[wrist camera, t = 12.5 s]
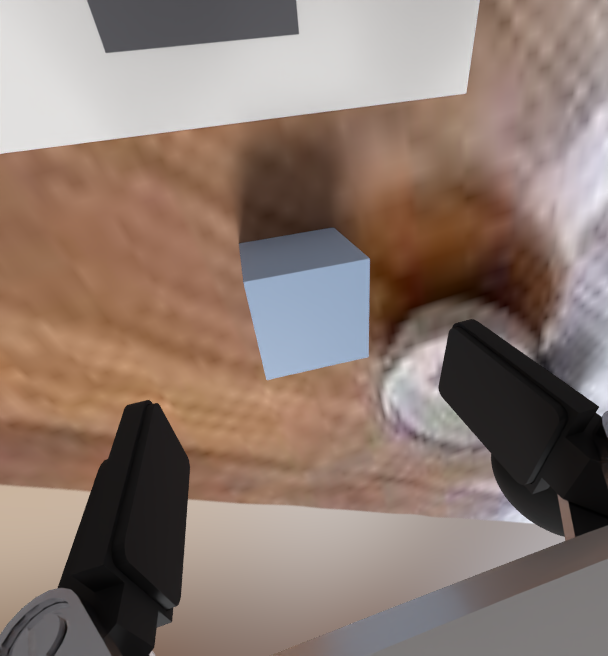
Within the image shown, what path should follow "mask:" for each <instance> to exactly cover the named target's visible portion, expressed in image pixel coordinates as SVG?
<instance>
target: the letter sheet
mask: <svg viewBox="0 0 608 656" xmlns="http://www.w3.org/2000/svg"><path fill="white" fill-rule="evenodd" d="M479 2H480V0H0V154H2V153H10V152H18V151H26V150H33V149H41V148H49V147H57V146H64V145H72V144H80V143H88V142H95V141H103V140H111V139H118V138H126V137H134V136H142V135H149V134H157V133H165V132H173V131H180V130H188V129H196V128H203V127H211V126H219V125H227V124H234V123H242V122H250V121H258V120H265V119H273V118H281V117H289V116H296V115H304V114H312V113H319V112H327V111H335V110H343V109H350V108H358V107H366V106H374V105H381V104H389V103H397V102H405V101H412V100H420V99H428V98H435V97H443V96H451V95H459V94H466V91H467V84H468V77H469V70H470V63H471V57H472V50H473V43H474V36H475V29H476V23H477V16H478V9H479Z"/></svg>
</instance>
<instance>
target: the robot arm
mask: <svg viewBox="0 0 608 656" xmlns="http://www.w3.org/2000/svg"><path fill="white" fill-rule="evenodd" d="M439 392H440V394H441V396H442V397H443V399H444V400H445V401H446V402H447V403H448V404H449V405H450V407H451V408H452V409H453V410H454V411H455V412H456V413H457V415H458V416H459V417H460V418H461V419H462V420H463V421H464V423H465V424H466V425H467V426H468V427H469V428H470V429H471V431H472V432H473V433H474V434H475V435H476V436H477V437H478V439H479V440H480V441H481V442H482V443H483V444H484V445H485V447H486V448H487V449H488V450H489V451H490V452H491V453H492V455H493V456H494V457H495V458H496V459H497V460H498V461H499V463H500V464H501V465H502V466H503V467H504V468H505V469H506V471H507V472H508V473H509V474H510V475H511V476H512V477H513V479H514V480H515V481H516V482H518V483H519V484H521V485H524V486H525V487H526V488H527V489H528V490H529V491H530V492H531V494H534V493H537V492H540V491H543V490H546V489H548V488H549V487H550V486H551V487H552V489H553V490H554V491H555V492H556V493H557V495H558V500H559V506H560V512H561V517H562V523H563V529H564V534H565V540H566V541H564V542H562V543H559V544H556V545H554V546H551V547H549V548H546V549H543V550H541V551H538V552H535V553H533V554H530V555H527V556H525V557H522V558H520V559H517V560H515V561H512V562H509V563H507V564H504V565H501V566H499V567H496V568H493V569H491V570H488V571H486V572H483V573H481V574H478V575H475V576H473V577H471V578H468V579H465V580H463V581H460V582H457V583H455V584H452V585H450V586H447V587H444V588H442V589H439V590H437V591H434V592H432V593H429V594H426V595H424V596H421V597H419V598H416V599H413V600H411V601H409V602H406V603H403V604H401V605H398V606H395V607H393V608H390V609H388V610H385V611H383V612H380V613H377V614H375V615H372V616H370V617H367V618H365V619H362V620H360V621H357V622H354V623H352V624H349V625H347V626H345V627H342V628H339V629H337V630H334V631H332V632H329V633H327V634H324V635H322V636H319V637H316V638H314V639H311V640H309V641H306V642H304V643H301V644H299V645H296V646H294V647H291V648H288V649H286V650H283V651H281V652H278V653H276V654H273V655H271V656H608V411H607V412H605V413H604V414H603V416H602V417H601V416H600V415H598V414H597V413H596V411H597V410H598V408H599V406H597V405H596V404H595V403H593V402H592V401H590V400H589V399H587V398H586V397H585V396H583V395H582V394H580V393H579V392H577V391H576V390H575V389H573V388H572V387H570V386H569V385H567V384H566V383H565V382H563V381H562V380H560V379H559V378H558V377H556V376H555V375H553V374H552V373H550V372H549V371H548V370H546V369H545V368H543V367H542V366H540V365H539V364H538V363H536V362H535V361H533V360H532V359H530V358H529V357H528V356H526V355H525V354H523V353H522V352H520V351H519V350H518V349H516V348H515V347H513V346H512V345H510V344H509V343H508V342H506V341H505V340H503V339H502V338H501V337H499V336H498V335H496V334H495V333H493V332H492V331H491V330H489V329H488V328H486V327H485V326H483V325H482V324H481V323H479V322H478V321H476V320H473V319H470V320H466V321H462V322H458V323H455V324H454V325H453V327H452V329H450V331H449V334H448V339H447V345H446V350H445V355H444V361H443V366H442V372H441V377H440V382H439ZM189 474H190V464H189V459H188V457H187V455H186V453H185V451H184V449H183V448H182V446H181V444H180V442H179V440H178V438H177V436H176V435H175V433H174V431H173V429H172V427H171V425H170V424H169V422H168V420H167V418H166V416H165V414H164V413H163V411H162V409H161V407H160V405H159V404H158V403H155V404H152V402H151V401H150V400H146V401H142V402H138V403H134V404H130V405H127V406H126V407H125V409H124V412H123V415H122V418H121V421H120V424H119V427H118V430H117V433H116V436H115V439H114V443H113V446H112V449H111V452H110V455H109V458H108V459H107V460H105V461H104V462H103V463H102V464H101V466H100V468H99V470H98V473H97V476H96V478H95V481H94V484H93V487H92V490H91V493H90V496H89V499H88V502H87V505H86V508H85V511H84V513H83V516H82V519H81V522H80V525H79V528H78V531H77V534H76V536H75V539H74V542H73V545H72V548H71V551H70V554H69V557H68V560H67V563H66V565H65V568H64V571H63V574H62V577H61V580H60V583H59V586H58V588H57V589H53V590H49V591H47V592H45V593H43V594H41V595H40V596H38V597H36V598H35V599H33V600H32V601H31V602H29V603H28V604H27V605H26V606H24V608H22V609H21V610H20V611H19V612H18V613H17V614H16V615H15V616H14V618H13V619H12V620H11V621H10V622H9V623H8V624H7V626H6V627H5V628H4V630H3V632H2V633H1V634H0V656H155V654H154V653H153V651H152V650H153V648H154V645H155V636H156V628H157V627H160V626H162V625H165V624H168V623H171V622H172V615H173V607H176V606H177V605H178V604H179V602H180V598H181V586H182V573H183V558H184V545H185V531H186V517H187V502H188V489H189Z"/></svg>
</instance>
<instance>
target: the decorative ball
mask: <svg viewBox="0 0 608 656" xmlns="http://www.w3.org/2000/svg"><path fill="white" fill-rule="evenodd" d="M491 463H492V469H493V473H494V476H495V479H496V481H497V483H498V485H499V487H500V489H501V491H502V492H503V494H504V495H505V497H506V498H507V499H508V501H509V502H510V503H511V504H512V505H513V506H514V507H515V508H516V509H517V510H518V511H519V512H520V513H521V514H522V515H523V516H525V517H526V518H527V519H529V520H530V521H532V522H533V523H535V524H536V525H538V526H540V527H542V528H544V529H546V530H548V531H550V532H552V533H555V534H557V535H560V536H564V537H565V534H564V529H563V523H562V517H561V512H560V506H559V500H558V495H557V493H556V492H555V491H554V490H553V489H552V487H551V486H550V487H549V488H548V489H546V490H543V491H540V492H537V493H534V494H531V492H530V491H529V490H528V489H527V488H526V487H525V486H524V485H521V484H519V483H518V482H516V481H515V480H514V479H513V477H512V476H511V475H510V474H509V473H508V472H507V471H506V469H505V468H504V467H503V466H502V465H501V464H500V463H499V461H498V460H497V459H496V458H495V457H494V456H493V455H492V453H491Z"/></svg>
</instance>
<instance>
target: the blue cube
mask: <svg viewBox="0 0 608 656" xmlns="http://www.w3.org/2000/svg"><path fill="white" fill-rule="evenodd" d="M239 248H240V257H241V265H242V274H243V282H244V287H245V291H246V295H247V299H248V304H249V308H250V312H251V316H252V320H253V325H254V329H255V333H256V337H257V342H258V346H259V350H260V354H261V358H262V363H263V367H264V371H265V375H266V379H267V380H269V379H274V378H278V377H282V376H287V375H291V374H296V373H300V372H304V371H309V370H313V369H318V368H322V367H326V366H331V365H335V364H340V363H344V362H348V361H353V360H357V359H362V358H366V357H368V352H369V277H370V258H368V257H367V256H366V255H365V254H364V253H363V252H362V251H360V250H359V249H358V248H357V247H356V246H355V245H353V244H352V243H351V242H350V241H349V240H348V239H346V238H345V237H344V236H343V235H342V234H341V233H339V232H338V231H337V230H336V229H335V228H334V227H333V228H327V229H321V230H315V231H309V232H303V233H298V234H292V235H286V236H280V237H274V238H268V239H263V240H257V241H251V242H245V243H239Z"/></svg>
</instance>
